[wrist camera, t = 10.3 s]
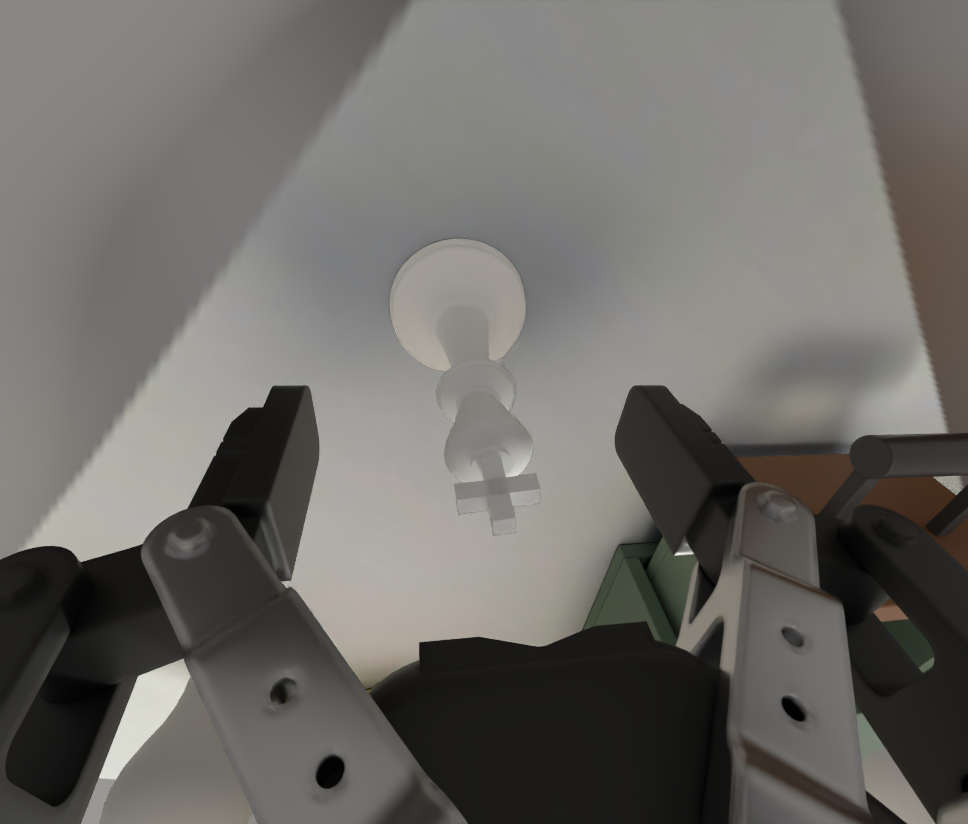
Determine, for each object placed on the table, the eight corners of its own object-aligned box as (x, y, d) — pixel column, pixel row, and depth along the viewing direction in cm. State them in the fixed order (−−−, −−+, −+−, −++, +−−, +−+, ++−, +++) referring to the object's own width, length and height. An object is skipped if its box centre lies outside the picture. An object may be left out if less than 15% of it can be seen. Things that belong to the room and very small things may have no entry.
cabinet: (618, 544, 27) (703, 735, 19) (818, 532, 29) (966, 699, 21) (567, 665, 36) (609, 827, 28) (720, 649, 38) (799, 795, 31)
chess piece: (377, 244, 15) (340, 445, 7) (525, 231, 15) (654, 407, 7) (401, 372, 18) (395, 613, 10) (524, 358, 18) (613, 580, 10)
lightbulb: (207, 658, 28) (118, 916, 20) (160, 608, 25) (24, 899, 16) (305, 642, 29) (260, 888, 20) (273, 591, 25) (201, 865, 16)
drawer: (725, 364, 18) (887, 513, 12) (974, 365, 20) (1223, 494, 14) (605, 617, 30) (657, 759, 24) (771, 602, 32) (857, 730, 26)
